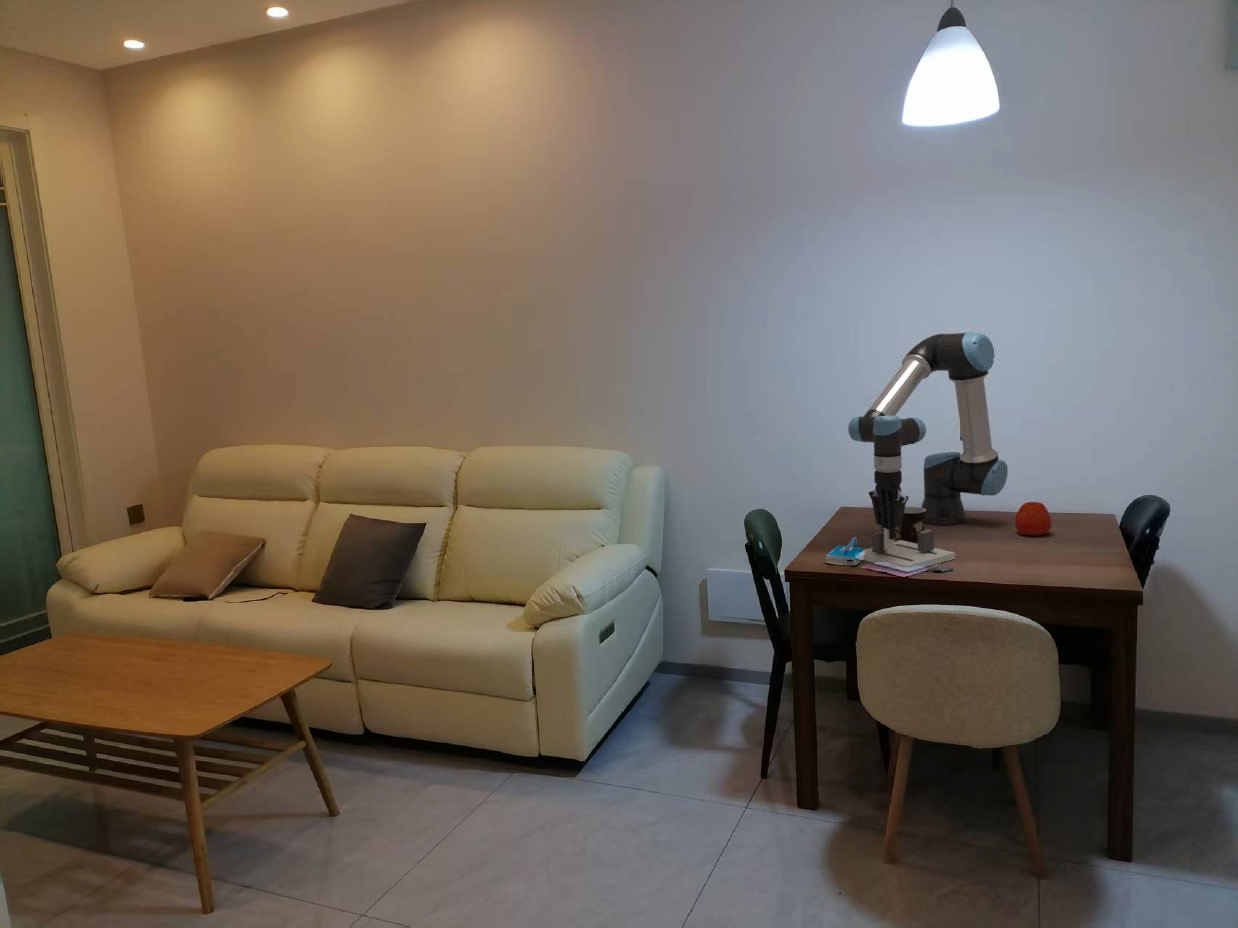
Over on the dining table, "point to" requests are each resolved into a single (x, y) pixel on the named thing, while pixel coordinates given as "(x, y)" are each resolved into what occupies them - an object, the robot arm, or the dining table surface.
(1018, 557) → the dining table surface
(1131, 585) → the dining table surface
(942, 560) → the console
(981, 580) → the dining table surface
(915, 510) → the coffee mug
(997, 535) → the dining table surface
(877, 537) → the block
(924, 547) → the block
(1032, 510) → the apple
